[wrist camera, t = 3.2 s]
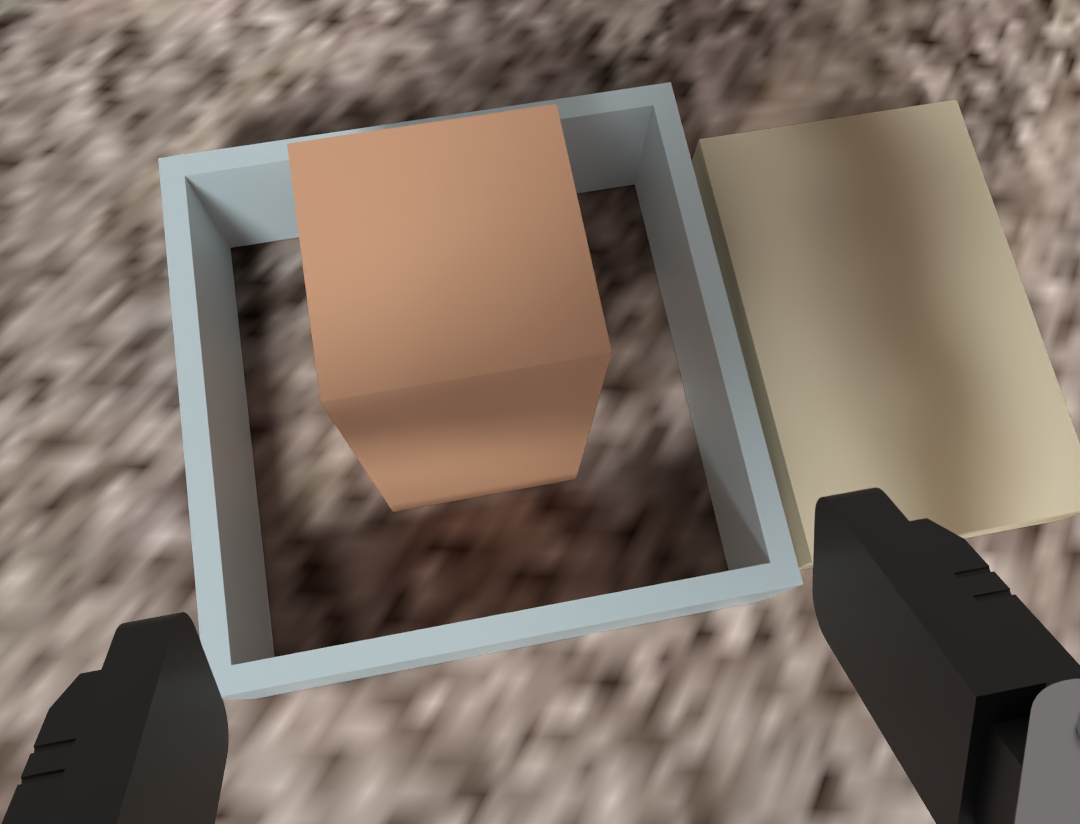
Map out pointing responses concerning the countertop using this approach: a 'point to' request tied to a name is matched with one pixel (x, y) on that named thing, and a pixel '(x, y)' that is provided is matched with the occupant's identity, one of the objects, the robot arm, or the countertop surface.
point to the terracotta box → (452, 303)
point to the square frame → (224, 431)
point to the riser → (887, 323)
